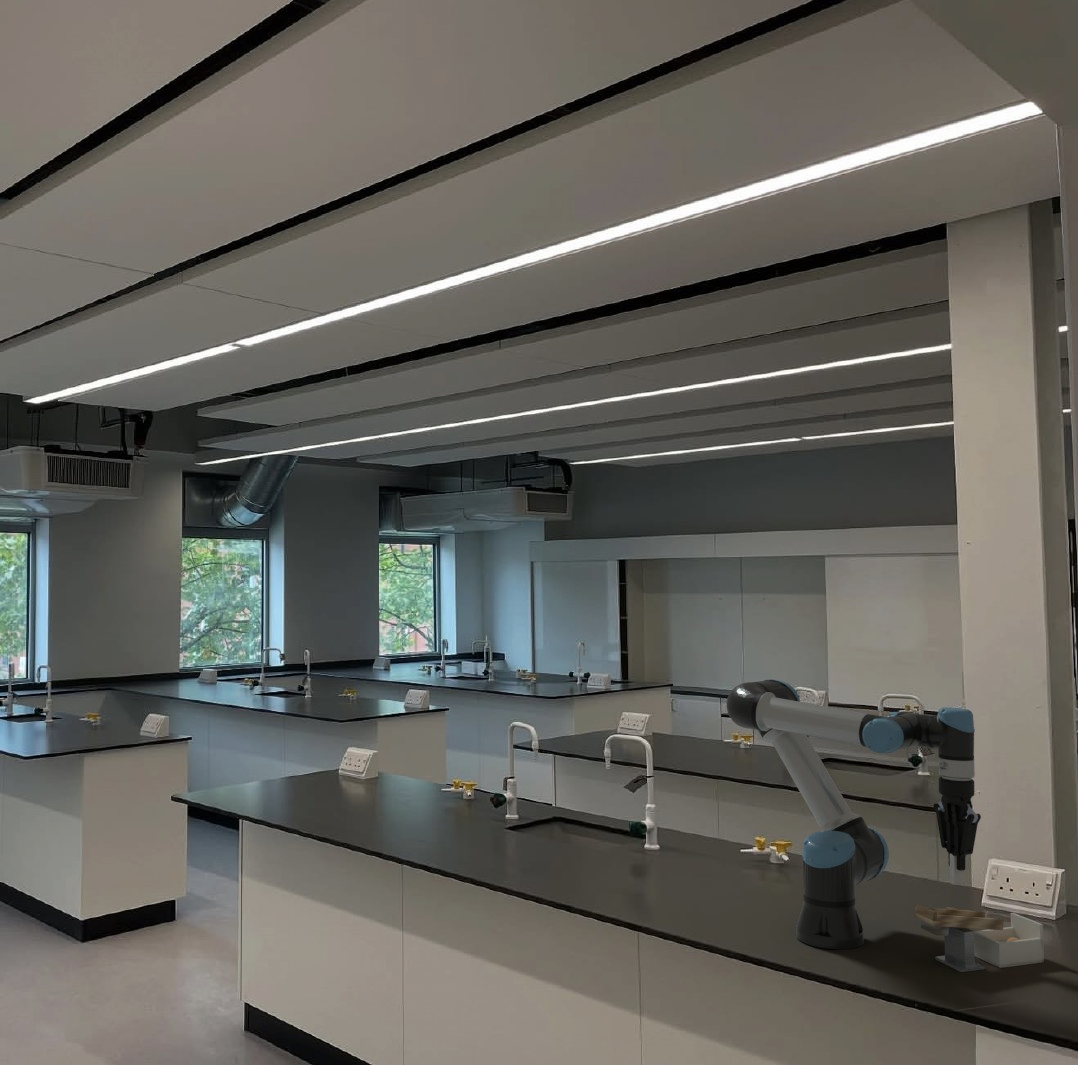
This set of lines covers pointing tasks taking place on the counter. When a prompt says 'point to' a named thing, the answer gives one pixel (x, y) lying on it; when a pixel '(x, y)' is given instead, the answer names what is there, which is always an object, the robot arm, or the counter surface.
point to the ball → (1013, 939)
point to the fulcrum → (960, 950)
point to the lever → (954, 919)
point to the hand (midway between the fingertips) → (957, 883)
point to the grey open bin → (1011, 943)
